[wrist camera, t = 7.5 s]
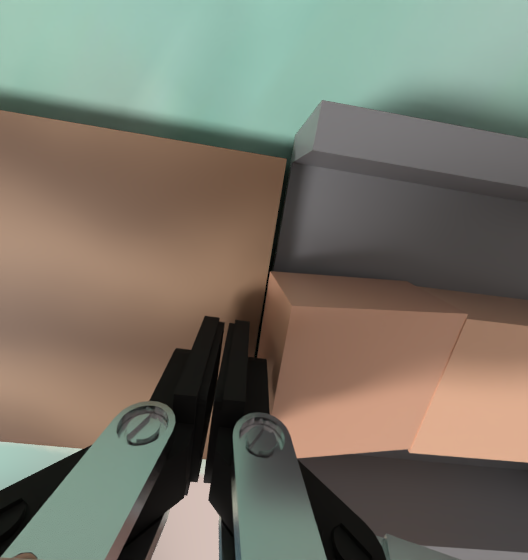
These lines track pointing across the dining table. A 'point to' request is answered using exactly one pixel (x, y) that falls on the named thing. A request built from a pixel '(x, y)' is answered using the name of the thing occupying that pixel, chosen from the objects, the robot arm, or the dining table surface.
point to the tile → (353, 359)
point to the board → (118, 266)
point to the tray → (420, 272)
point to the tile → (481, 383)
